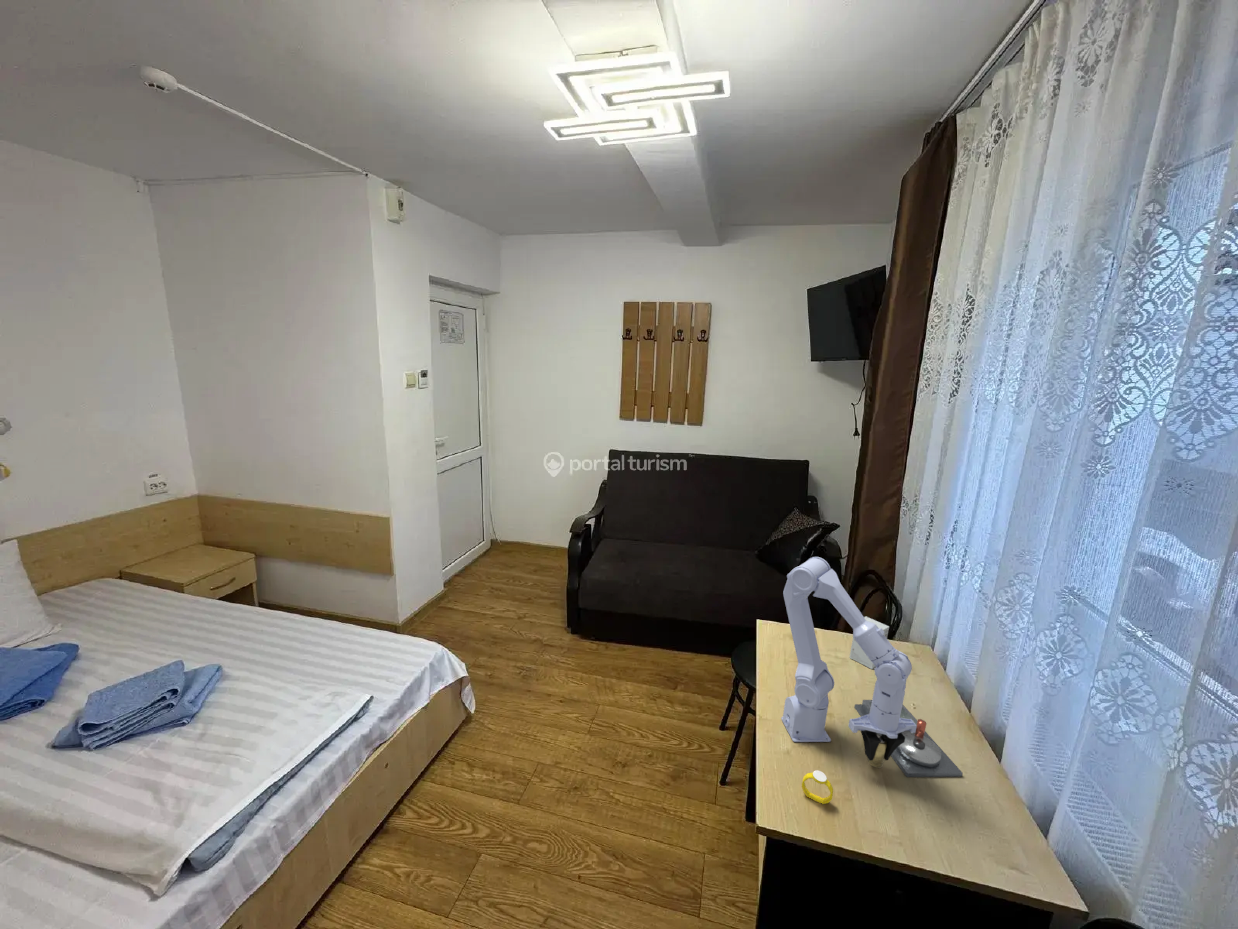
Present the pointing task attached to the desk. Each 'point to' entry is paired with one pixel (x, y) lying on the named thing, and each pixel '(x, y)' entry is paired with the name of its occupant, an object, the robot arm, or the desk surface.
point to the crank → (920, 747)
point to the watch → (820, 779)
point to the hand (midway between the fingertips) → (876, 756)
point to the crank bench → (909, 767)
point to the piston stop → (879, 753)
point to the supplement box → (857, 651)
